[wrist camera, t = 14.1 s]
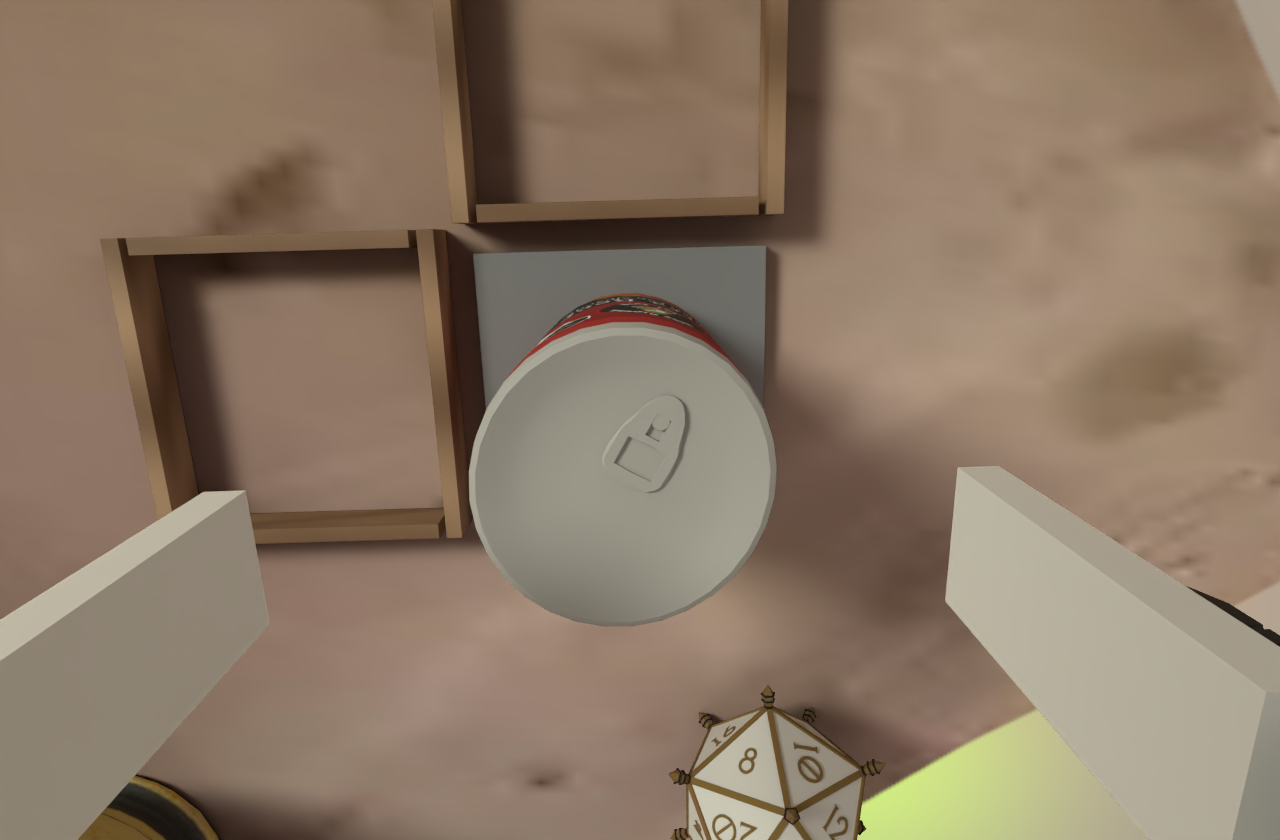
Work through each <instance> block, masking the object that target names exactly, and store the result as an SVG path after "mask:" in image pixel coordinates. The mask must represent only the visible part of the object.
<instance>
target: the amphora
mask: <svg viewBox="0 0 1280 840" xmlns="http://www.w3.org/2000/svg"><path fill="white" fill-rule="evenodd" d="M78 840H219V839H218V837H217V835H216V834H215V832H214V831H213V830H212V828H211V827H210V825H209V824H208V822H207V821H206V819H205V818H204V816H203V815H202V814H201V812H200V811H198V810H197V809H196V808H195V807H193V806H192V805H191V804H189V803H188V802H187V801H186V800H184V799H183V798H182V797H180V796H179V795H178V794H177V793H175V792H174V791H172V790H170V789H168V788H166V787H164V786H162V785H161V784H159V783H156V782H153V781H150V780H147V779H144V778H141V777H138V776H134V777H133V778H132V779H131V780H130V782H129V783H128V784H127V785H126V786H125V787H124V788H123V789H122V790H121V792H120V793H119V794H118V795H117V796H116V797H115V798H114V799H113V801H112V802H111V803H110V804H109V805H108V806H107V807H106V808H105V809H104V811H103V812H102V813H101V814H100V815H99V816H98V817H97V818H96V820H95V821H94V822H93V823H92V824H91V825H90V826H89V827H88V828H87V830H86V831H85V832H84V833H83V834H82V835H81V836H80V837H79V839H78Z"/></svg>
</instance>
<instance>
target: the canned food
mask: <svg viewBox="0 0 1280 840" xmlns="http://www.w3.org/2000/svg"><path fill="white" fill-rule="evenodd" d="M776 474H777V466H776V457H775V449H774V440H773V437H772V433H771V430H770V427H769V424H768V421H767V418H766V415H765V412H764V409H763V406H762V404H761V402H760V400H759V399H758V397H757V395H756V394H755V392H754V390H753V389H752V387H751V385H750V384H749V382H748V380H747V379H746V378H745V376H744V375H743V373H742V371H741V370H740V369H739V368H738V367H737V366H736V365H735V363H734V362H733V361H732V360H731V359H730V358H729V356H728V355H727V354H726V353H725V352H724V351H723V350H722V348H721V347H720V346H719V345H718V344H717V343H716V342H715V340H714V339H713V338H712V337H711V336H710V335H709V334H708V332H707V331H706V330H705V329H704V328H703V327H702V326H701V325H700V324H699V323H698V322H697V320H696V319H695V318H694V317H693V316H691V315H690V314H688V313H687V312H686V311H684V310H683V309H681V308H680V307H679V306H677V305H675V304H673V303H670V302H668V301H666V300H663V299H661V298H659V297H654V296H649V295H644V294H639V293H618V294H613V295H609V296H604V297H599V298H596V299H594V300H592V301H589V302H587V303H585V304H582V305H580V306H578V307H577V308H575V309H574V310H572V311H571V312H569V313H568V314H567V315H565V316H564V317H562V318H561V319H560V320H559V321H558V322H557V323H556V324H555V325H554V326H553V327H552V328H551V329H550V330H549V332H548V333H547V334H546V335H545V336H544V337H543V338H542V339H541V340H540V341H539V342H538V343H537V345H536V346H535V347H534V348H533V349H532V350H531V351H530V352H529V353H528V354H527V355H526V357H525V358H524V359H523V360H522V361H521V362H520V363H519V364H518V365H517V366H516V367H515V368H514V370H513V371H512V372H511V373H510V374H509V376H508V378H507V379H506V380H505V381H504V382H503V384H502V385H501V387H500V389H499V390H498V392H497V393H496V395H495V396H494V398H493V399H492V401H491V402H490V404H489V406H488V407H487V410H486V412H485V415H484V417H483V420H482V422H481V425H480V427H479V430H478V432H477V435H476V438H475V441H474V445H473V451H472V456H471V462H470V468H469V500H470V505H471V509H472V514H473V518H474V522H475V527H476V530H477V532H478V534H479V537H480V539H481V541H482V543H483V545H484V547H485V550H486V552H487V554H488V556H489V557H490V559H491V560H492V561H493V563H494V564H495V565H496V567H497V568H498V569H499V571H500V572H501V574H502V575H503V576H504V578H505V579H506V580H508V581H509V582H510V583H511V584H512V585H513V586H514V587H515V588H516V589H517V590H518V591H520V592H521V593H522V594H523V595H524V596H525V597H526V598H528V599H530V600H531V601H533V602H535V603H536V604H538V605H540V606H541V607H543V608H544V609H546V610H548V611H549V612H552V613H555V614H557V615H560V616H563V617H565V618H568V619H571V620H573V621H576V622H582V623H587V624H593V625H599V626H636V625H641V624H646V623H651V622H656V621H661V620H664V619H667V618H669V617H672V616H674V615H677V614H679V613H682V612H685V611H687V610H689V609H691V608H692V607H694V606H696V605H697V604H699V603H701V602H702V601H704V600H706V599H707V598H709V597H711V596H712V595H714V594H715V593H716V592H717V591H718V590H719V589H720V588H721V587H723V586H724V585H725V584H726V583H727V582H728V581H729V580H730V579H732V578H733V577H734V576H735V575H736V573H737V572H738V571H739V570H740V568H741V567H742V566H743V564H744V563H745V562H746V561H747V559H748V558H749V557H750V555H751V554H752V553H753V551H754V549H755V547H756V545H757V543H758V541H759V539H760V537H761V536H762V534H763V532H764V530H765V528H766V525H767V522H768V518H769V515H770V512H771V508H772V505H773V501H774V497H775V485H776Z"/></svg>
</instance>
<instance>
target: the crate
mask: <svg viewBox="0 0 1280 840" xmlns="http://www.w3.org/2000/svg"><path fill="white" fill-rule="evenodd" d="M100 241H101V245H102V250H103V255H104V260H105V265H106V270H107V275H108V279H109V284H110V289H111V294H112V299H113V304H114V309H115V313H116V318H117V323H118V328H119V333H120V338H121V342H122V347H123V352H124V357H125V362H126V367H127V372H128V376H129V381H130V386H131V391H132V396H133V401H134V406H135V410H136V415H137V420H138V425H139V430H140V435H141V440H142V444H143V449H144V454H145V459H146V464H147V469H148V474H149V478H150V483H151V488H152V493H153V498H154V503H155V507H156V512H157V517H158V520H160V519H161V518H163V517H164V516H166V515H167V514H169V513H171V512H172V511H174V510H175V509H177V508H179V507H180V506H182V505H183V504H185V503H187V502H188V501H190V500H191V499H193V498H195V497H196V496H198V495H199V494H198V488H197V483H196V478H195V473H194V467H193V462H192V457H191V451H190V446H189V441H188V436H187V430H186V425H185V420H184V415H183V409H182V404H181V399H180V393H179V388H178V383H177V378H176V372H175V367H174V362H173V356H172V351H171V346H170V341H169V335H168V330H167V325H166V320H165V314H164V309H163V304H162V298H161V293H160V288H159V283H158V277H157V272H156V267H155V261H154V256H153V255H164V254H199V253H234V252H269V251H303V250H338V249H373V248H408V247H418V257H419V267H420V277H421V287H422V296H423V306H424V316H425V326H426V336H427V346H428V356H429V366H430V376H431V385H432V395H433V405H434V415H435V425H436V435H437V445H438V455H439V465H440V474H441V484H442V494H443V504H444V508H417V509H384V510H350V511H317V512H283V513H250V517H251V523H252V528H253V534H254V539H255V544H266V543H299V542H333V541H366V540H399V539H432V538H440V536H441V535H442V533H443V532H444V530H445V529H446V534H447V538H462V537H463V535H464V533H465V532H466V530H467V528H468V526H469V525H470V523H471V521H472V515H471V505H470V500H469V483H468V472H467V461H466V450H465V439H464V428H463V417H462V406H461V395H460V384H459V373H458V362H457V351H456V340H455V329H454V318H453V307H452V296H451V285H450V274H449V263H448V253H447V242H446V231H445V230H435V229H429V230H394V231H359V232H324V233H289V234H254V235H219V236H185V237H150V238H115V239H100Z"/></svg>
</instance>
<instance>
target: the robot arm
mask: <svg viewBox="0 0 1280 840" xmlns="http://www.w3.org/2000/svg"><path fill="white" fill-rule="evenodd" d="M945 601H946V603H947V604H948V605H949V606H950V607H951V608H952V610H953V611H954V612H955V613H956V614H957V616H958V617H959V618H960V619H961V620H962V621H963V623H964V624H965V625H966V626H967V627H968V628H969V630H970V631H971V632H972V633H973V634H974V635H975V637H976V638H977V639H978V640H979V641H980V643H981V644H982V645H983V646H984V647H985V648H986V650H987V651H988V652H989V653H990V654H991V655H992V657H993V658H994V659H995V660H996V661H997V662H998V664H999V665H1000V666H1001V667H1002V668H1003V670H1004V671H1005V672H1006V673H1007V674H1008V675H1009V677H1010V678H1011V679H1012V680H1013V681H1014V682H1015V684H1016V685H1017V686H1018V687H1019V688H1020V690H1021V691H1022V692H1023V693H1024V694H1025V695H1026V697H1027V698H1028V699H1029V700H1030V701H1031V702H1032V704H1033V705H1034V706H1035V707H1036V708H1037V709H1038V711H1039V712H1040V713H1041V714H1042V715H1043V717H1044V718H1046V720H1047V721H1048V722H1049V724H1050V725H1051V726H1052V727H1053V728H1054V729H1055V731H1056V732H1057V733H1058V734H1059V735H1060V737H1061V738H1062V739H1063V740H1064V741H1065V742H1066V743H1067V745H1068V746H1069V747H1070V748H1071V749H1072V751H1073V752H1074V753H1075V754H1076V755H1077V756H1078V758H1079V759H1080V760H1081V761H1082V762H1083V763H1084V765H1085V766H1086V767H1087V768H1088V769H1089V771H1091V773H1092V774H1093V775H1094V776H1095V778H1096V779H1097V780H1098V781H1099V782H1100V783H1101V785H1102V786H1103V787H1104V788H1105V789H1106V790H1107V792H1108V793H1109V794H1110V795H1111V796H1112V798H1113V799H1114V800H1115V801H1116V802H1117V803H1118V805H1119V806H1120V807H1121V808H1122V809H1123V811H1124V812H1125V813H1126V814H1127V815H1128V816H1129V818H1130V819H1131V820H1132V821H1133V822H1134V823H1135V825H1136V826H1137V827H1138V828H1139V829H1140V830H1141V832H1142V833H1143V834H1144V835H1145V836H1146V838H1147V839H1148V840H1280V635H1278V634H1276V633H1275V632H1273V631H1272V630H1270V629H1264V628H1263V625H1262V624H1261V623H1259V622H1257V621H1256V620H1254V619H1253V618H1251V617H1249V616H1248V615H1246V614H1245V613H1243V612H1241V611H1240V610H1238V609H1237V608H1235V607H1233V606H1232V605H1230V604H1229V603H1226V602H1224V601H1222V600H1219V599H1217V598H1214V597H1212V596H1209V595H1207V594H1204V593H1202V592H1200V591H1197V590H1195V589H1192V588H1190V587H1187V586H1185V585H1183V584H1181V583H1180V582H1178V581H1177V580H1175V579H1173V578H1172V577H1170V576H1169V575H1167V574H1166V573H1164V572H1163V571H1161V570H1160V569H1158V568H1156V567H1155V566H1153V565H1152V564H1150V563H1149V562H1147V561H1146V560H1144V559H1142V558H1141V557H1139V556H1138V555H1136V554H1135V553H1133V552H1132V551H1130V550H1128V549H1127V548H1125V547H1124V546H1122V545H1121V544H1119V543H1118V542H1116V541H1114V540H1113V539H1111V538H1110V537H1108V536H1107V535H1105V534H1104V533H1102V532H1100V531H1099V530H1097V529H1096V528H1094V527H1093V526H1091V525H1090V524H1088V523H1086V522H1085V521H1083V520H1082V519H1080V518H1079V517H1077V516H1076V515H1074V514H1073V513H1071V512H1069V511H1068V510H1066V509H1065V508H1063V507H1062V506H1060V505H1059V504H1057V503H1055V502H1054V501H1052V500H1051V499H1049V498H1048V497H1046V496H1045V495H1043V494H1041V493H1040V492H1038V491H1037V490H1035V489H1034V488H1032V487H1031V486H1029V485H1027V484H1026V483H1024V482H1023V481H1021V480H1020V479H1018V478H1017V477H1015V476H1013V475H1012V474H1010V473H1009V472H1007V471H1006V470H1004V469H1003V468H1001V467H999V466H983V467H958V469H957V479H956V490H955V501H954V512H953V522H952V533H951V544H950V555H949V565H948V576H947V587H946V598H945ZM269 625H270V621H269V616H268V611H267V605H266V600H265V594H264V589H263V583H262V578H261V572H260V567H259V561H258V556H257V550H256V545H255V539H254V534H253V528H252V523H251V517H250V512H249V506H248V501H247V496H246V490H244V491H213V492H202V493H201V494H199V495H198V496H196V497H195V498H193V499H191V500H190V501H188V502H187V503H185V504H183V505H182V506H180V507H179V508H177V509H175V510H174V511H172V512H171V513H169V514H167V515H166V516H164V517H163V518H161V519H160V520H158V521H156V522H155V523H153V524H152V525H150V526H148V527H147V528H145V529H144V530H142V531H140V532H139V533H137V534H136V535H134V536H132V537H131V538H129V539H128V540H126V541H125V542H123V543H121V544H120V545H118V546H117V547H115V548H113V549H112V550H110V551H109V552H107V553H105V554H104V555H102V556H101V557H99V558H98V559H96V560H94V561H93V562H91V563H90V564H88V565H86V566H85V567H83V568H82V569H80V570H78V571H77V572H75V573H74V574H72V575H70V576H69V577H67V578H66V579H64V580H63V581H61V582H59V583H58V584H56V585H55V586H53V587H51V588H50V589H48V590H47V591H45V592H43V593H42V594H40V595H39V596H37V597H35V598H34V599H32V600H31V601H29V602H28V603H26V604H24V605H23V606H21V607H20V608H18V609H16V610H15V611H13V612H12V613H10V614H8V615H7V616H5V617H4V618H2V619H1V620H0V840H78V839H79V837H80V836H81V835H82V834H83V833H84V832H85V831H86V830H87V828H88V827H89V826H90V825H91V824H92V823H93V822H94V821H95V820H96V818H97V817H98V816H99V815H100V814H101V813H102V812H103V811H104V809H105V808H106V807H107V806H108V805H109V804H110V803H111V802H112V801H113V799H114V798H115V797H116V796H117V795H118V794H119V793H120V792H121V790H122V789H123V788H124V787H125V786H126V785H127V784H128V783H129V782H130V780H131V779H132V778H133V777H134V776H135V775H136V774H137V773H138V771H139V770H140V769H141V768H142V767H143V766H144V765H145V764H146V763H147V761H148V760H149V759H150V758H151V757H152V756H153V755H154V754H155V752H156V751H157V750H158V749H159V748H160V747H161V746H162V745H163V743H164V742H165V741H166V740H167V739H168V738H169V737H170V736H171V735H172V733H173V732H174V731H175V730H176V729H177V728H178V727H179V726H180V724H181V723H182V722H183V721H184V720H185V719H186V718H187V717H188V716H189V714H190V713H191V712H192V711H193V710H194V709H195V708H196V707H197V705H198V704H199V703H200V702H201V701H202V700H203V699H204V698H205V697H206V695H207V694H208V693H209V692H210V691H211V690H212V689H213V688H214V686H215V685H216V684H217V683H218V682H219V681H220V680H221V679H222V677H223V676H224V675H225V674H226V673H227V672H228V671H229V670H230V669H231V667H232V666H233V665H234V664H235V663H236V662H237V661H238V660H239V658H240V657H241V656H242V655H243V654H244V653H245V652H246V651H247V650H248V648H249V647H250V646H251V645H252V644H253V643H254V642H255V641H256V639H257V638H258V637H259V636H260V635H261V634H262V633H263V632H264V631H265V629H266V628H267V627H268V626H269Z"/></svg>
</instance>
